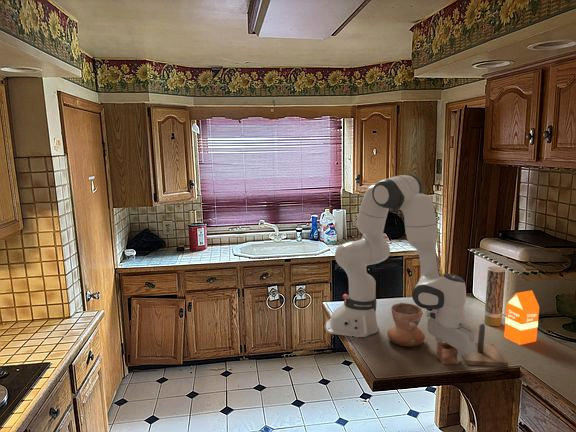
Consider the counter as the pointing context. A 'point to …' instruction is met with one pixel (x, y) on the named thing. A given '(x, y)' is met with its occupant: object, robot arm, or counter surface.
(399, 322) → the ceramic jug
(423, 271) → the robot arm
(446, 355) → the bead
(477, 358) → the peg stand
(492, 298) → the paper tube
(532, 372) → the counter surface
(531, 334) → the orange juice
